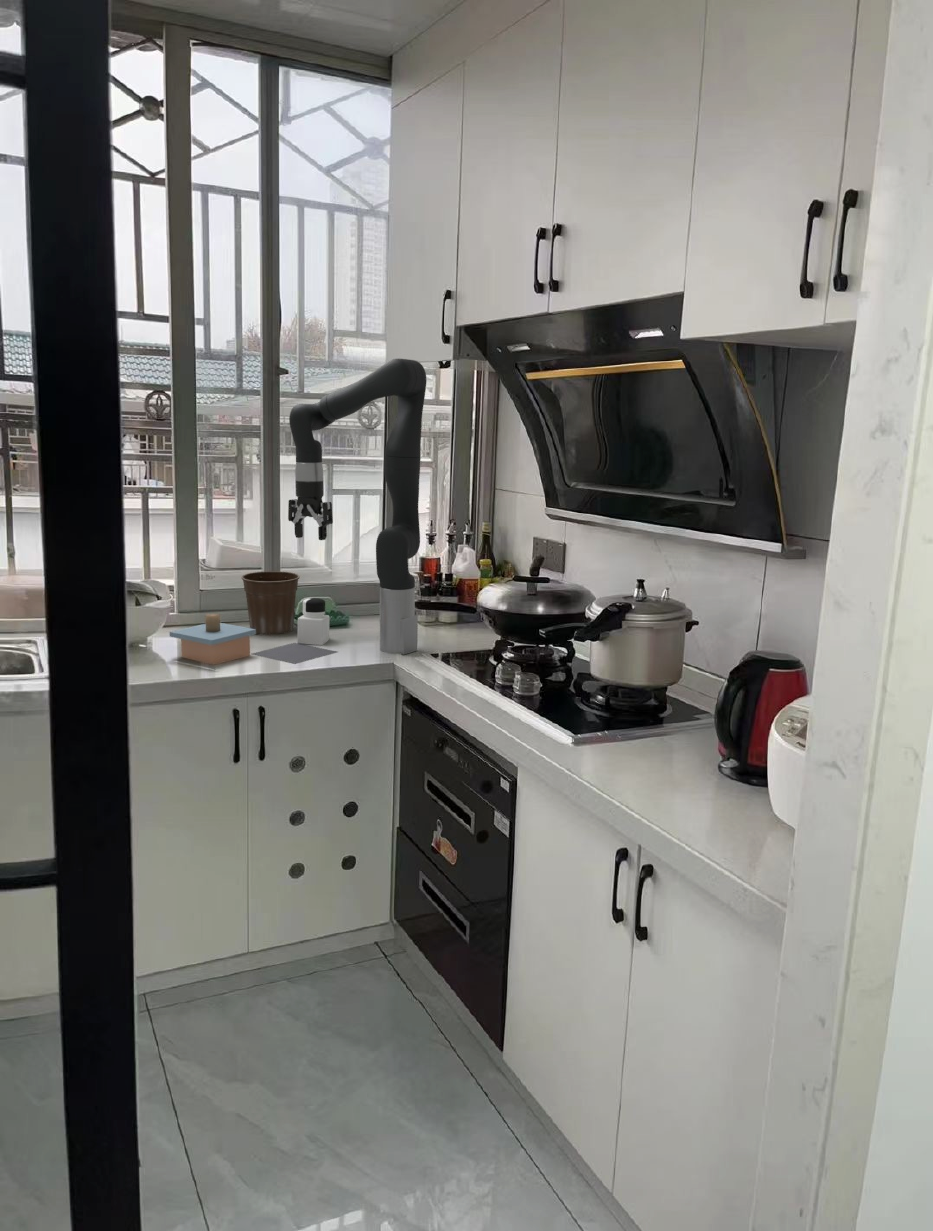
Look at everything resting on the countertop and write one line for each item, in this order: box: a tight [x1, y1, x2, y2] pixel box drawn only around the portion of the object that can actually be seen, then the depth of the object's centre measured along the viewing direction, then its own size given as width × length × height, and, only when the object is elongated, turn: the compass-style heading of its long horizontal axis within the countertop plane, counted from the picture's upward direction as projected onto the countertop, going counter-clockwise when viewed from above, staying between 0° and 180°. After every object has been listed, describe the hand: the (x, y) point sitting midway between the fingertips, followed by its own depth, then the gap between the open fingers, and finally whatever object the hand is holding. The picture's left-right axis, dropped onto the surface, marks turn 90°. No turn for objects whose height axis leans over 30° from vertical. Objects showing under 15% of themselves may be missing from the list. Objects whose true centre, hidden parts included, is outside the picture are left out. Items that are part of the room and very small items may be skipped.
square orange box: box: [180, 635, 251, 666], centre depth 247 cm, size 12×12×6 cm
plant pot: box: [241, 570, 301, 636], centre depth 276 cm, size 16×16×16 cm
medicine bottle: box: [296, 597, 331, 646], centre depth 264 cm, size 7×7×12 cm
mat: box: [251, 642, 338, 665], centre depth 252 cm, size 16×16×1 cm
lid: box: [168, 613, 257, 645], centre depth 245 cm, size 15×15×5 cm
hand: (310, 538), depth 265 cm, fingers open, 8 cm apart
